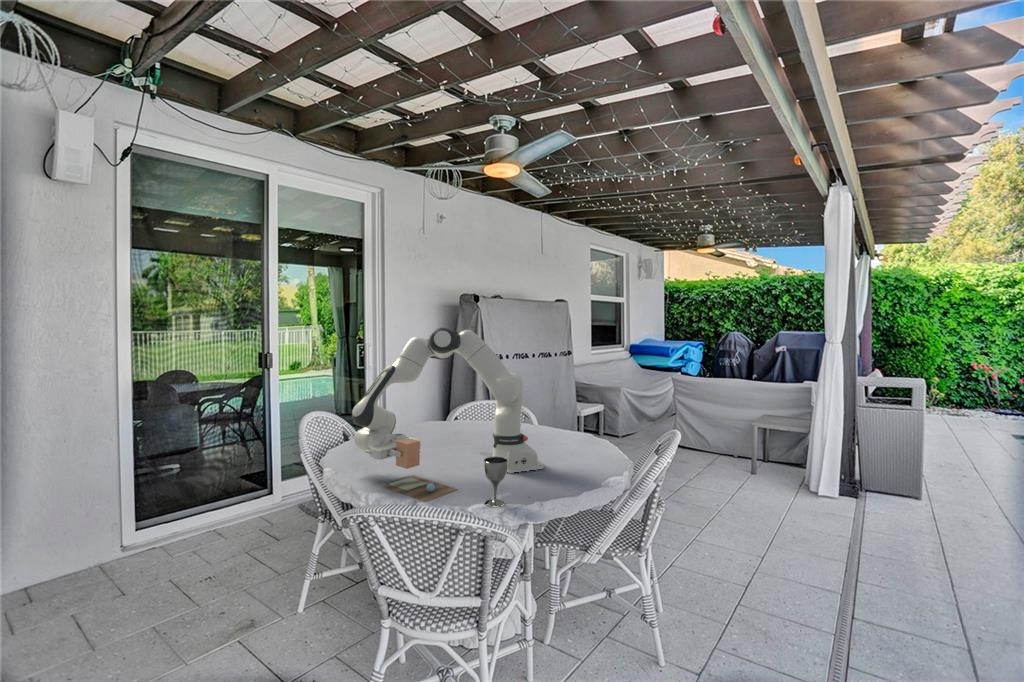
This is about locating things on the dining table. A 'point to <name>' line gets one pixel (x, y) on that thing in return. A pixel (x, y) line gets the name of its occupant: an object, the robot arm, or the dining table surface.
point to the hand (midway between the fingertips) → (409, 452)
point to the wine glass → (495, 475)
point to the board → (418, 488)
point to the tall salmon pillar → (408, 453)
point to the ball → (430, 487)
